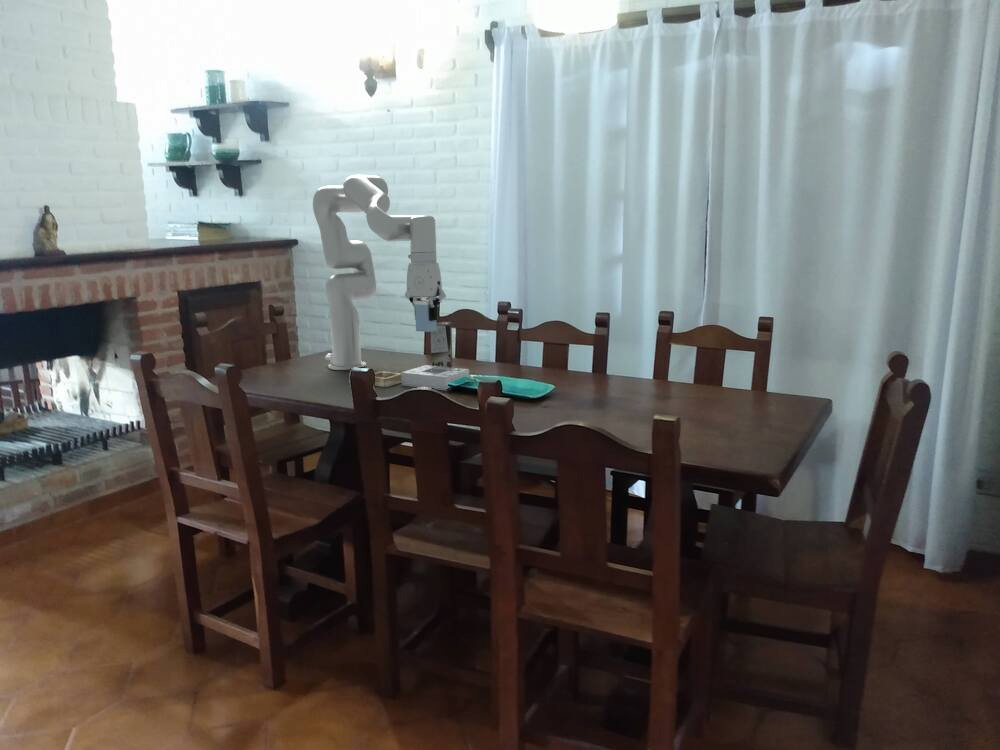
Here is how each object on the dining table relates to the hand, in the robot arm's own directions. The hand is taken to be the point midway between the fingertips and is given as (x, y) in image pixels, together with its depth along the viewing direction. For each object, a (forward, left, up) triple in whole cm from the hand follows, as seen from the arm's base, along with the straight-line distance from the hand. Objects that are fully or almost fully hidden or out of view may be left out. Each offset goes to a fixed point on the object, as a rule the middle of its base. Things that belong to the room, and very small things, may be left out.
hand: (426, 319), depth 228 cm
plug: (0, 0, -3) cm, 3 cm away
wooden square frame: (-13, -5, -20) cm, 24 cm away
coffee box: (-6, +17, -20) cm, 27 cm away
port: (+2, +1, -20) cm, 20 cm away
